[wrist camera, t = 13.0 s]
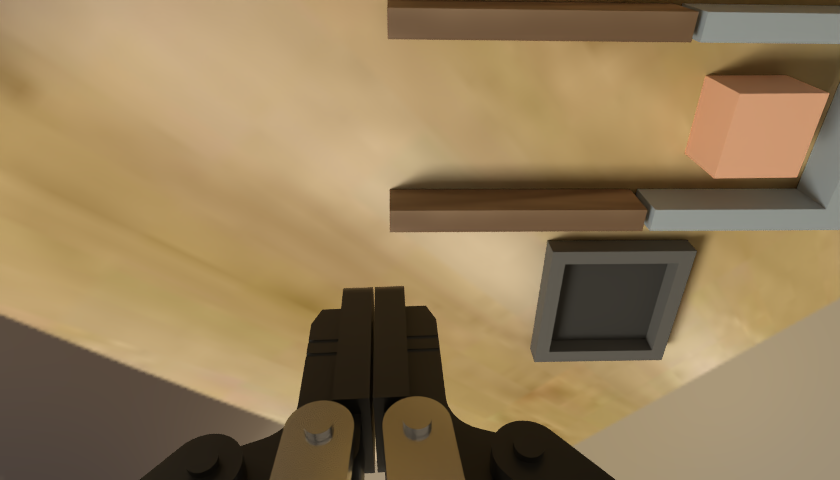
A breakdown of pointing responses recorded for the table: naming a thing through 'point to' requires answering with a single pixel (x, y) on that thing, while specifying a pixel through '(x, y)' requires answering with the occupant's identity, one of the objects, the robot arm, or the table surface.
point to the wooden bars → (528, 21)
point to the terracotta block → (754, 125)
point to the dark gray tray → (609, 299)
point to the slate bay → (829, 160)
